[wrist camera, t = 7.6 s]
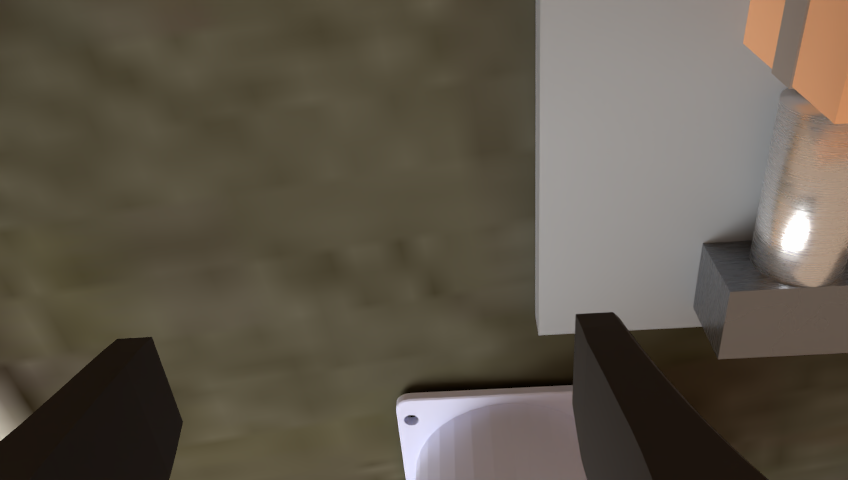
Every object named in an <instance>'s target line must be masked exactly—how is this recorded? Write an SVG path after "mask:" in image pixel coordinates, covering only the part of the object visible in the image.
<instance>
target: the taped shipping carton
mask: <svg viewBox="0 0 848 480" xmlns="http://www.w3.org/2000/svg"><path fill="white" fill-rule="evenodd" d="M743 44H744V45H745V46H746V47H748V48H749V49H750V50H751V51H752V52H753V53H754V54H755V55H757V56H758V57H759V58H760V59H761V60H762V61H763V62H765V63H766V64H767V65H768V66H769V67H770V68H771V69H772V72H771V73H772V74H773V75H774V76H775V77H776V78H777V79H778V80H780V81H781V82H782V83H783V84H784V85H785V86H786V87H787V88H788V89H795V90H796V91H797V92H798V93H800V94H801V95H802V96H803V97H804V98H805V99H806V100H808V101H809V102H810V103H811V104H812V105H813V106H814V107H815V108H817V109H818V110H819V111H820V112H821V113H822V114H823V115H824V116H826V117H827V118H828V119H829V120H830V121H831V122H832V123H834V124H848V0H750V5H749V11H748V17H747V22H746V28H745V34H744V40H743Z"/></svg>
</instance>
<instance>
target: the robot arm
mask: <svg viewBox="0 0 848 480" xmlns="http://www.w3.org/2000/svg"><path fill="white" fill-rule="evenodd" d="M396 412H397V420H398V427H399V434H400V441H401V448H402V455H403V462H404V469H405V476H406V480H768V479H767V478H766V477H765V476H764V475H763V474H761V473H760V472H759V471H758V470H757V469H756V468H755V467H753V466H752V465H751V464H750V463H749V462H748V461H747V460H746V459H745V458H744V457H742V456H741V455H740V454H739V453H738V452H737V451H736V450H735V449H734V448H733V447H732V446H731V445H730V444H729V443H728V442H727V441H726V440H725V439H724V438H723V437H722V436H721V435H720V434H719V433H718V432H717V431H716V430H715V429H714V428H713V427H712V426H711V425H710V424H709V423H708V422H707V421H706V420H705V419H704V418H703V417H702V416H701V415H700V414H699V413H698V412H697V411H696V410H695V409H694V408H693V407H692V406H691V405H690V403H689V402H688V401H687V400H686V399H685V398H684V397H683V396H682V395H681V393H680V392H679V391H678V390H677V389H676V388H675V387H674V386H673V384H672V383H671V382H670V381H669V380H668V379H667V378H666V377H665V375H664V374H663V373H662V372H661V371H660V369H659V368H658V367H657V366H656V365H655V363H654V362H653V361H652V360H651V358H650V357H649V356H648V355H647V354H646V352H645V351H644V350H643V349H642V347H641V346H640V345H639V343H638V342H637V341H636V340H635V338H634V337H633V336H632V334H631V333H630V332H629V330H628V329H627V328H626V326H625V325H624V324H623V322H622V321H621V319H620V318H619V317H618V316H617V315H616V314H615V313H613V312H605V313H586V314H576V319H575V345H574V370H573V385H564V386H543V387H523V388H503V389H482V390H462V391H441V392H421V393H407V394H403V395H401V396H400V397H399V398H398V399H397V404H396ZM408 415H415V416H416V417H408ZM182 423H183V421H182V418H181V416H180V413H179V410H178V408H177V405H176V402H175V399H174V397H173V394H172V391H171V388H170V386H169V383H168V380H167V377H166V375H165V372H164V369H163V366H162V364H161V361H160V358H159V355H158V353H157V350H156V347H155V345H154V342H153V339H152V337H145V338H127V339H117V340H116V341H114V342H113V343H112V344H111V345H109V346H108V347H107V348H106V349H105V350H103V351H102V352H101V353H100V354H99V355H98V356H97V357H95V358H94V359H93V360H92V361H91V362H90V363H89V364H88V365H86V366H85V367H84V368H83V369H82V370H81V371H80V372H79V373H78V374H76V375H75V376H74V377H73V378H72V379H71V380H70V381H69V382H68V383H67V384H65V385H64V386H63V387H62V388H61V389H60V390H59V391H58V392H57V393H55V394H54V395H53V396H52V397H51V398H50V399H49V400H47V401H46V402H45V403H44V404H43V405H42V406H41V407H40V408H38V409H37V410H36V411H35V412H34V413H33V414H32V415H31V416H29V417H28V418H27V419H26V420H25V421H24V422H23V423H22V424H20V425H19V426H18V427H17V428H16V429H14V430H13V431H12V432H11V433H10V434H8V435H7V436H6V437H5V438H4V439H2V440H1V441H0V480H169V478H170V474H171V470H172V466H173V462H174V459H175V455H176V450H177V446H178V441H179V437H180V432H181V428H182Z"/></svg>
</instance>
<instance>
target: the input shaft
mask: <svg viewBox="0 0 848 480" xmlns="http://www.w3.org/2000/svg"><path fill="white" fill-rule="evenodd" d="M693 308H694V311H695V313H696V315H697V317H698V319H699V321H700V323H701V325H702V327H703V329H704V331H705V333H706V336H707V338H708V340H709V342H710V344H711V346H712V348H713V350H714V352H715V354H716V356H717V358H718V359H735V358H755V357H775V356H795V355H814V354H834V353H848V124H834V123H832V122H831V121H830V120H829V119H828V118H827V117H826V116H824V115H823V114H822V113H821V112H820V111H819V110H818V109H817V108H815V107H814V106H813V105H812V104H811V103H810V102H809V101H808V100H806V99H805V98H804V97H803V96H802V95H801V94H800V93H798V92H797V91H796V90H795V89H788V88H787V89H785V90H783V91H782V92H781V94H780V98H779V103H778V108H777V113H776V119H775V124H774V129H773V134H772V139H771V145H770V150H769V155H768V160H767V166H766V171H765V176H764V181H763V186H762V192H761V197H760V202H759V207H758V213H757V218H756V223H755V228H754V233H753V239H752V240H749V241H732V242H715V243H703V244H702V250H701V257H700V264H699V271H698V277H697V284H696V291H695V298H694V304H693Z"/></svg>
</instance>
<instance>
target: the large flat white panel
mask: <svg viewBox="0 0 848 480" xmlns="http://www.w3.org/2000/svg"><path fill="white" fill-rule="evenodd" d="M749 5H750V0H536V150H535V317H536V323H537V328H538V334H539V335H553V334H572V333H575V319H576V314H586V313H605V312H613V313H615V314H616V315H617V316H618V317H619V318H620V319H621V321H622V322H623V324H624V325H625V326H626V328H627V329H628V330H648V329H667V328H686V327H702V325H701V323H700V321H699V319H698V317H697V315H696V313H695V311H694V308H693V304H694V298H695V291H696V284H697V277H698V271H699V264H700V257H701V250H702V244H703V243H715V242H732V241H749V240H752V239H753V233H754V228H755V223H756V218H757V213H758V207H759V202H760V197H761V192H762V186H763V181H764V176H765V171H766V166H767V160H768V155H769V150H770V145H771V139H772V134H773V129H774V124H775V119H776V113H777V108H778V103H779V98H780V94H781V92H782V91H783V90H785V89H787V87H786V86H785V85H784V84H783V83H782V82H781V81H780V80H778V79H777V78H776V77H775V76H774V75H773V74H772V73H771V72H772V69H771V68H770V67H769V66H768V65H767V64H766V63H765V62H763V61H762V60H761V59H760V58H759V57H758V56H757V55H755V54H754V53H753V52H752V51H751V50H750V49H749V48H748V47H746V46H745V45H744V44H743V40H744V34H745V28H746V22H747V17H748V11H749Z"/></svg>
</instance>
